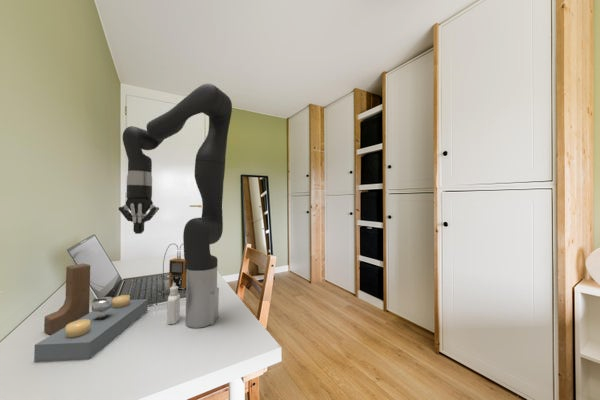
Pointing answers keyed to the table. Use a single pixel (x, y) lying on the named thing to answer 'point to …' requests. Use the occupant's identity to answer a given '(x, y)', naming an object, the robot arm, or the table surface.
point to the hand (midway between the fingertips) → (138, 233)
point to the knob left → (77, 328)
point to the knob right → (121, 301)
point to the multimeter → (177, 271)
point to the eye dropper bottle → (173, 305)
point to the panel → (90, 334)
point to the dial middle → (102, 306)
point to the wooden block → (71, 299)
